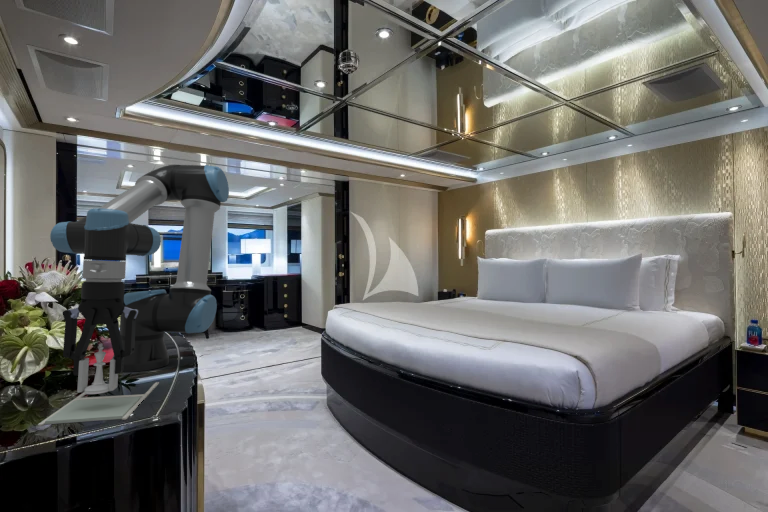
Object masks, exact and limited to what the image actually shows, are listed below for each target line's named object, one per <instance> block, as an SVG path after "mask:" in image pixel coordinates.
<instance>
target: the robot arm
mask: <svg viewBox="0 0 768 512" xmlns="http://www.w3.org/2000/svg"><path fill="white" fill-rule="evenodd" d="M229 190H230V189H229V182H228V179H227V176H226V174H225V172H224V170H223V169H222V168H221V167H220V166H216V165H208V164H205V165H203V164H202V165H197V164H191V165H190V164H169V165H164V166H160V167H158V168H156V169H153V170H151V171H150V172H149V171H148V172H146V173H145V174H143V175H142V176H140V177H139V178H137V180H135V182H134V185H133V186H131V187H130V188H128V189H127V190H126V189H125V191H124V192H122V193H120V194H119V195H117V196H115V197H113V198H111V200H109V201H108V202H106V203H105V204H103V205H101V206H99V207H98V208H97V207H96V208H95V207H94V208H91V209H88V210H87V212H86V216H84V217H82V218H80V219H79V220H77V221H61V222H58V223H56V224H55V225H54V226H53V227H52V229H51V231H50V235H49V237H50V242H51V244H52V246H53V248H54V249H55V250H57V251H58V252H61V253H65V254H66V253H67V254H69V253H70V254H74V255H75V254H77V255H78V254H83V262H82V263H83V265H82V279H84V280H85V281H82V283H81V293H80V295H81V296H80V298H81V299H80V303H79V304H78V306H77V307H75V308H71V309H66V310H63V311H62V317H63V319H64V335H63V336H64V337H63V338H64V339H63V351H62V357H64V358H68V359H72V360H73V371H72V372H73V373H72V374H73V376H78V377H77V390H76V393H84V389H85V388H86V387H88V383H89V382H88V381H89V368H90V367H89V365H90V358H89V357H86V356H87V351H88V348H89V345H90V343H91V340H92V337H93V334H94V331H95V328H96V327H97V325H99V324H101V325H106V326H105V327H106V329H107V331H108V335H109V336H108V337H109V339H110V344H111V347H112V352H113V355H112V358H111V359H110V360H109V374H108V375H109V377H108V384H109V391H108V392H111V391H112V392H113V391H114V390H116V389H117V388H118V385H119V384H118V381H119V380H118V379H119V374H121V373H123V372H124V373H125V372H126V373H127V372H144V371H150V370H155V369H160V368H163V367H166V366H168V365H169V363H170V356H169V352H168V349H167V345H166V342H165V338H164V336H165V333H179V334H180V333H182V334H185V333H186V334H193V333H194V334H197V333H199V334H200V333H204V332H206V331H207V330H209V328H210V327H211V326H212V323H213V322H214V321H215V317H216V314H217V308H218V307H217V306H218V304H217V298H216V297H215V296H214V295H212V294H211V292H212V289H211V288H210V287H209V286H208V275H209V266H210V257H211V246H212V237H213V230H214V221H215V213H216V212H218V211H220V209H221V203H225V202H227V201H228V199H229V194H230V191H229ZM168 201H180V204H181V205H182V206H183V207H184V209H185V210H184V211H185V212H184V220H183V224H182V225H183V226H182V227H183V228H182V235H181V242H180V250H179V257H178V265H177V266H178V268H177V275H176V282H175V283H174V284H173V285H171V286H170V287H169V293H167V291H166V289H163V288H162V289H152V290H143V291H134V292H133V291H132V292H126V293H125V289H126V287H125V286H126V284H125V282H124V281H122V280H125V279H126V269H127V256H137V257H144V256H151V255H153V254H155V253H156V252H157V251H158V250H159V249H160V246H161V244H162V238H161V235H160V233H159V232H158V230H157V229H155V228H153V227H150V226H148V225H146V224H137V223H133V222H134V221H135V220H137V219H138V218H140V217H141V216H142V215H143V214H145V213H146V212H147V211H149V210H150V209H151V208H152V207H155V206H160V205H162V204H163V203H165V202H168ZM80 315H82V317H83V318H84V319H85V321H84V324H83V326H82V331H81V334H80V337H79V340H78V342H77V335H78V334H77V333H78V318H79V317H80ZM119 318H120V319H119Z"/></svg>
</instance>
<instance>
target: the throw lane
mask: <svg viewBox="0 0 768 512" xmlns="http://www.w3.org/2000/svg"><path fill="white" fill-rule="evenodd" d="M159 384H160V382H157V381H156V382H155V383H153V384H152V385H151V387H149V389H148V390H147V391H146V392H145V393H143V394H142V393H140V394H126V395H107V396H106V395H105V396H91V397H90V396H89V397H85V396H86V395H87V394H85V393H84V392H81V394H79V395H77V396H76V397H75V398H74V399H72V400H70V401H69V402H68V403H67V404H64V405H63V406H61V408H59V409H58V410H56V411H55V412H53V413H52V414H51V415H49V416H48V417H46V418H45V419H43V420H42V421H41V422H39V423H38V424H37V426H38V427H40V426H41V427H43V426H45V425H53V424H54V425H55V424H56V425H57V424H66V423H67V424H69V423H70V424H71V423H81V422H82V423H84V422H93V421H94V422H95V421H112V420H122V421H123V420H127V419H128V418H129V417H130V416H131V414H133V413H134V412H133V411H136V409H138V407H139V406H140V405H141V404H142V403H143V402H144V401H145V400H146V399H147V397H148V396H149V395H150V394H151V393H152V392H153V391H154V390H155V389H156V387H157V386H158V385H159ZM143 400H144V401H143ZM142 401H143V402H142ZM141 402H142V403H141ZM139 404H140V405H139ZM138 405H139V406H138Z"/></svg>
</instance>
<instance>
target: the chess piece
mask: <svg viewBox="0 0 768 512" xmlns="http://www.w3.org/2000/svg"><path fill="white" fill-rule="evenodd" d="M97 349H98V350H97V351H96V352H94V353H93V354H94V357H95V360H96V362H95V363H93V366H94V367H96V368H95V369H96V370H95V374H94V380H93V382H92V383H91V385H87V387H86V388H85V389H84V391H83V393H85V394H86V395H97V394H99V395H100V394H105V393H108V392H110V391H109V383H106V381H104V374H103V366H105V365H106V362H104V358H105V357H106V354H107V351H103V350H104V346H103V343H102V342H101V343H99V344H98V346H97Z"/></svg>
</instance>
